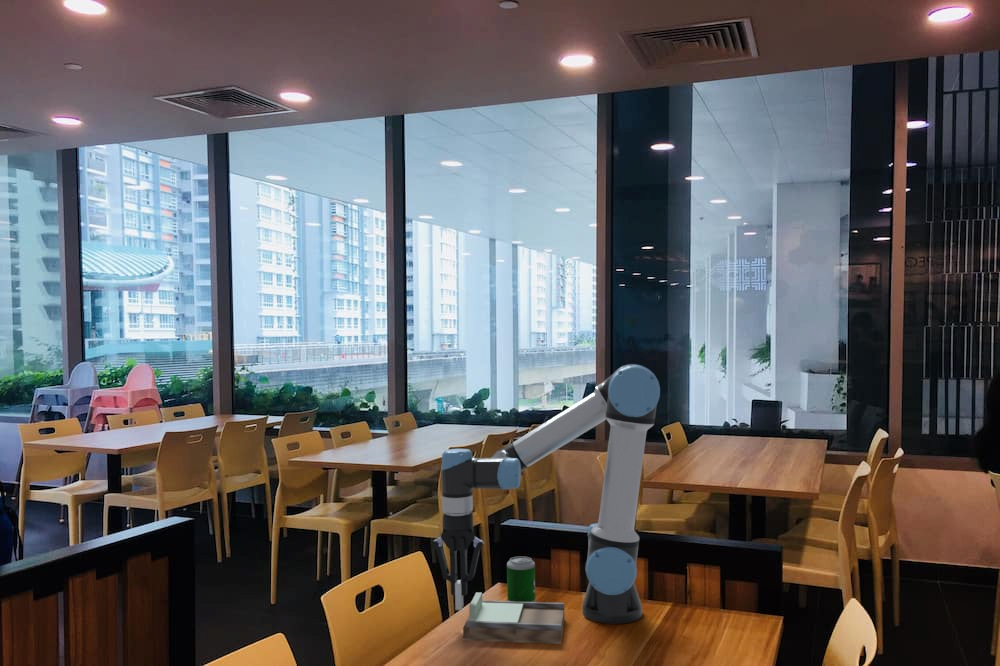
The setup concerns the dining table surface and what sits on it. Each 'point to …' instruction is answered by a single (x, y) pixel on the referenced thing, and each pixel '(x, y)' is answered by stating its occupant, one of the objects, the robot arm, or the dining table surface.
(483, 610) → the lid
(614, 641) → the dining table surface
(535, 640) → the wooden tray box
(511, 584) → the soda can
